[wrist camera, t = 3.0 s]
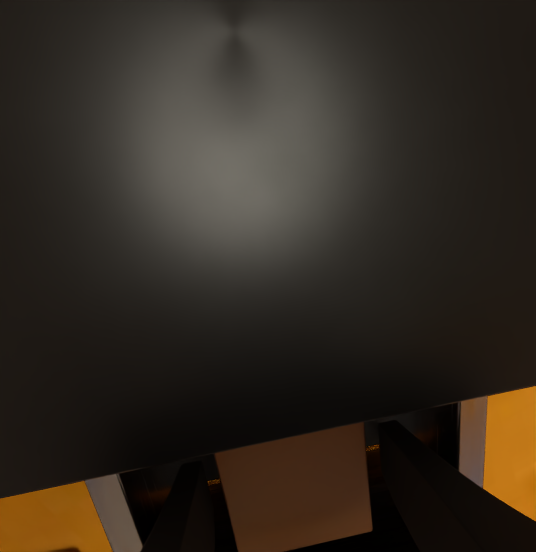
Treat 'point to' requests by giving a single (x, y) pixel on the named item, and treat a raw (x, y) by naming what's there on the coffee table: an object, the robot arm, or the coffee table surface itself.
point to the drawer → (359, 548)
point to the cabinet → (256, 222)
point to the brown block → (297, 490)
